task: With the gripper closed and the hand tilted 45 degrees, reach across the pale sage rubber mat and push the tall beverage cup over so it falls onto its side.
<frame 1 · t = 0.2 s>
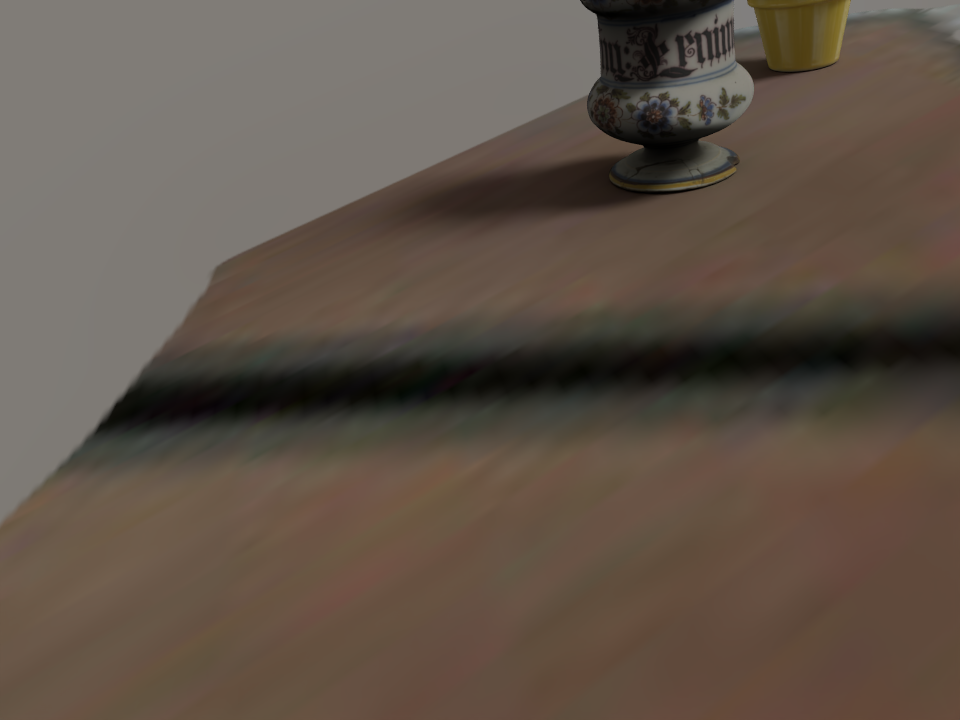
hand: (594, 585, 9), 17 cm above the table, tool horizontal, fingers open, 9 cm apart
plant pot: (801, 65, 89), on the table
apothecary jar: (674, 173, 68), on the table
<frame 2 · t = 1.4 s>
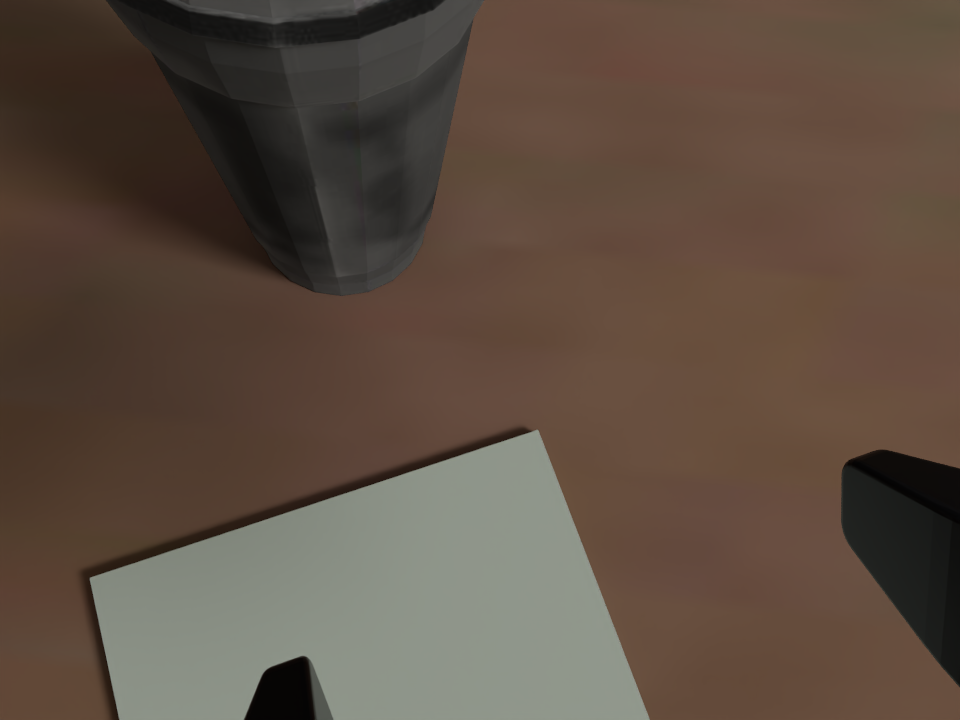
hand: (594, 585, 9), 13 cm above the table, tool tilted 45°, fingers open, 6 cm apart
beverage cup: (343, 222, 24), on the table
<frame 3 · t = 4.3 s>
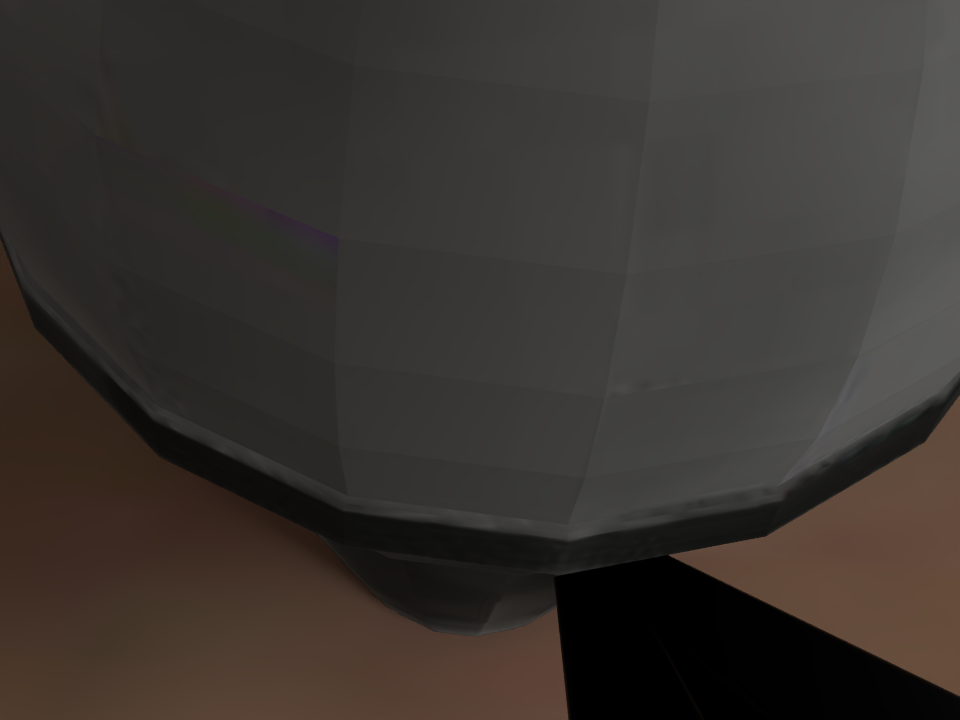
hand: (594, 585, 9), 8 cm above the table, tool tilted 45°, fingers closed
beverage cup: (469, 514, 17), on the table
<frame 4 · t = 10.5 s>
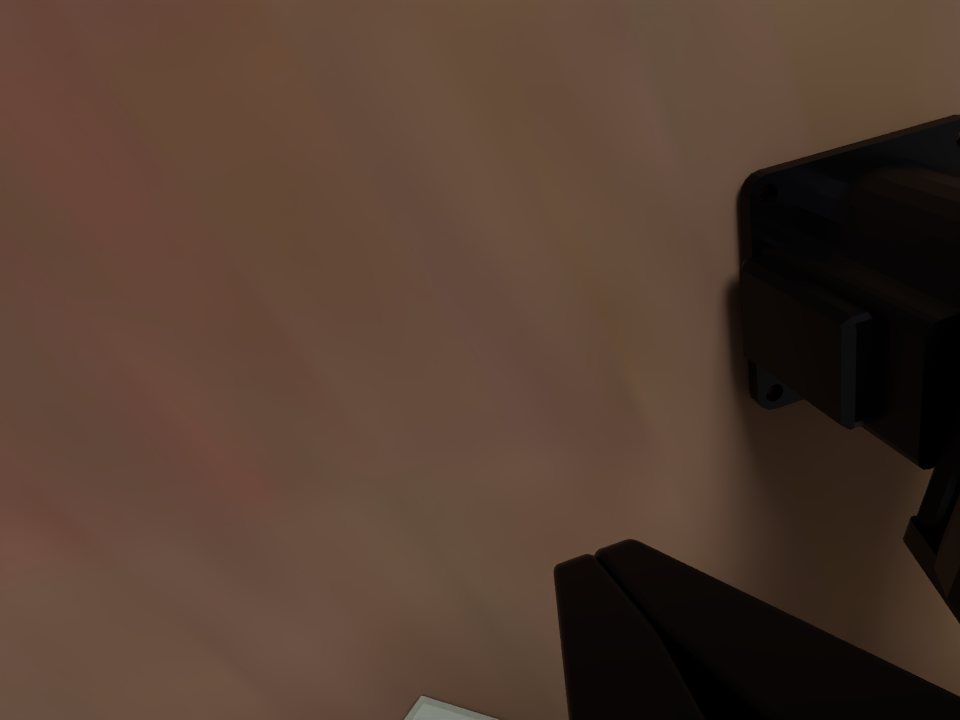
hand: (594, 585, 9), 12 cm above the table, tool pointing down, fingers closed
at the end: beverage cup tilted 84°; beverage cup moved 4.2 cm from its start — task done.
